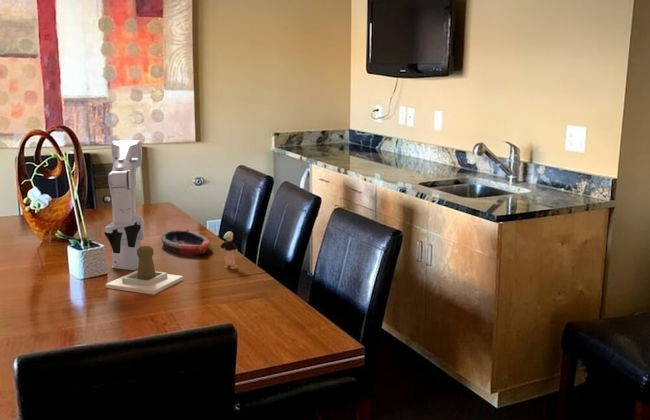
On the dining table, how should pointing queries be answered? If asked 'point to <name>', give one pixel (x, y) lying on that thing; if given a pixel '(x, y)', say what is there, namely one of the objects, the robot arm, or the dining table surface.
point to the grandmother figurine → (229, 250)
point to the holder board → (145, 282)
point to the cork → (145, 263)
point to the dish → (185, 242)
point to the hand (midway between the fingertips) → (124, 249)
